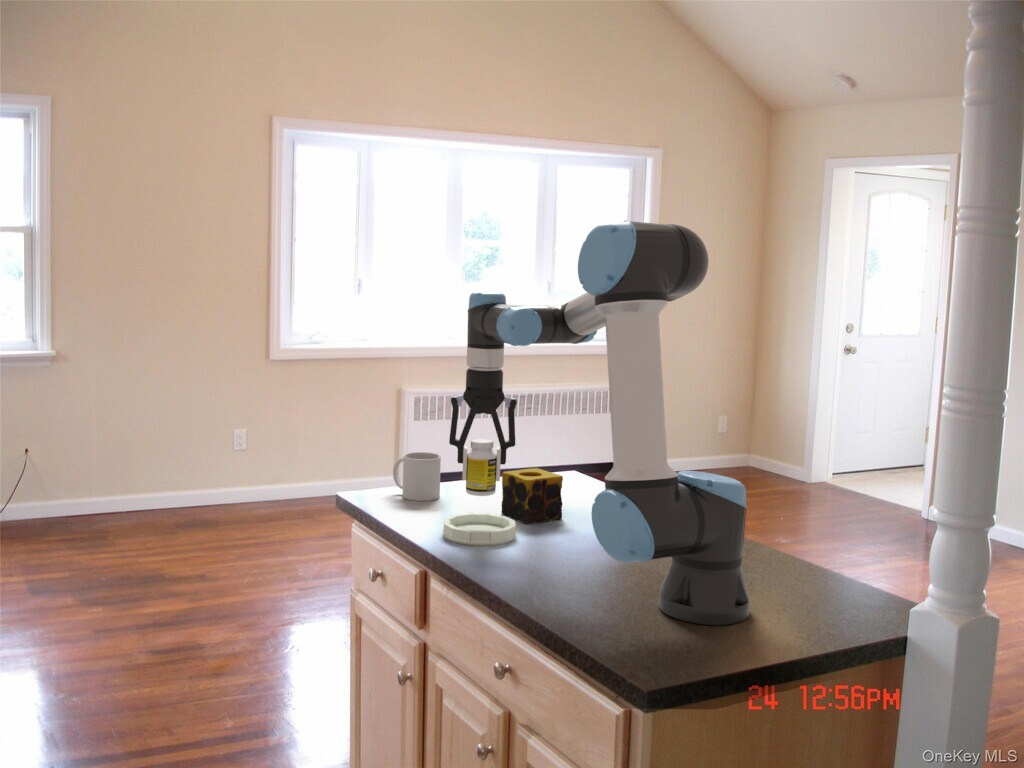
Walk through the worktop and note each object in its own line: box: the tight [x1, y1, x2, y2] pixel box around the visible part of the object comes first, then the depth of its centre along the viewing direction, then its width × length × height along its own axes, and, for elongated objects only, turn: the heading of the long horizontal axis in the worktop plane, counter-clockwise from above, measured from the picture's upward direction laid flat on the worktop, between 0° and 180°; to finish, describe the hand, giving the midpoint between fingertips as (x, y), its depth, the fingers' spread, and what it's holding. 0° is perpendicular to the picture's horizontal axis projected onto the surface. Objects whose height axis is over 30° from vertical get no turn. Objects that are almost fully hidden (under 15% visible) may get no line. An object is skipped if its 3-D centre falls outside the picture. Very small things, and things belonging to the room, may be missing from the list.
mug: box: [392, 451, 442, 502], centre depth 240 cm, size 11×10×10 cm
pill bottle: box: [465, 438, 497, 497], centre depth 207 cm, size 6×6×11 cm
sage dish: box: [442, 512, 517, 547], centre depth 209 cm, size 15×15×3 cm
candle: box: [501, 467, 564, 525], centre depth 225 cm, size 10×10×10 cm
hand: (481, 479), depth 208 cm, fingers closed on pill bottle, 6 cm apart
